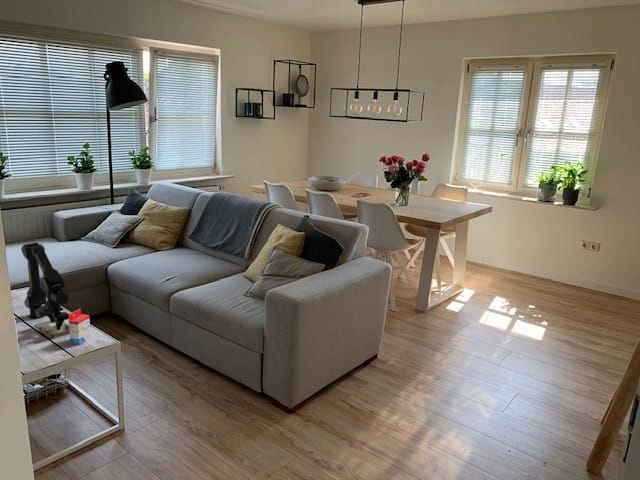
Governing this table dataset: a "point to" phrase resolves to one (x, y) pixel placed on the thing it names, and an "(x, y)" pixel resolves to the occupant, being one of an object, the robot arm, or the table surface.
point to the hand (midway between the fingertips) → (56, 328)
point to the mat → (43, 324)
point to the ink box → (79, 327)
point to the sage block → (53, 328)
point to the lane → (56, 333)
